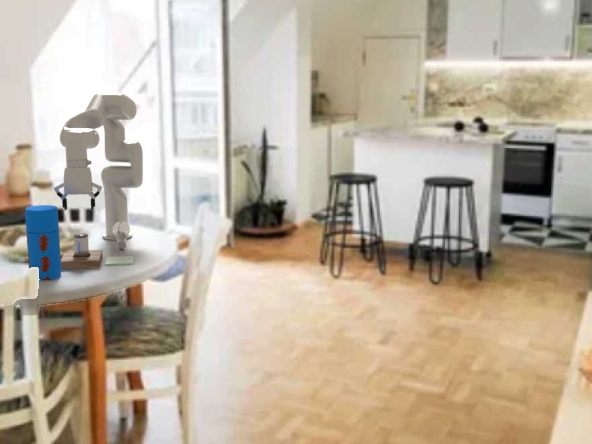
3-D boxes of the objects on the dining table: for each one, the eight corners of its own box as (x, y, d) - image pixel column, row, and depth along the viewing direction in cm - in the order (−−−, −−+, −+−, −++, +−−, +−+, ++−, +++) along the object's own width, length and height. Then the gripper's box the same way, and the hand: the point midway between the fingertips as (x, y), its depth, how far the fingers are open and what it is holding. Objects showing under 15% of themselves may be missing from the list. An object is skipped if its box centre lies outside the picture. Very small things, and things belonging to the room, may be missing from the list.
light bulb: (126, 252, 296) (125, 223, 293) (110, 251, 297) (109, 222, 295) (133, 248, 303) (132, 219, 300) (117, 247, 304) (116, 218, 301)
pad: (107, 258, 286) (107, 257, 285) (133, 257, 287) (133, 256, 287) (105, 265, 276) (105, 263, 276) (132, 264, 278) (132, 262, 278)
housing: (65, 258, 285) (65, 250, 285) (102, 257, 288) (102, 249, 287) (60, 269, 270) (60, 261, 269) (99, 267, 273) (99, 260, 272)
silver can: (75, 261, 281) (74, 233, 279) (89, 261, 282) (88, 233, 280) (74, 265, 276) (72, 236, 274) (88, 264, 277) (87, 236, 275)
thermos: (30, 282, 254) (25, 211, 249) (28, 274, 263) (23, 206, 258) (63, 278, 258) (59, 209, 253) (59, 271, 268) (55, 204, 262)
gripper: (101, 162, 276) (103, 207, 280) (54, 163, 273) (56, 208, 276) (100, 164, 269) (102, 210, 272) (51, 165, 266) (53, 211, 269)
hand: (79, 209), depth 274 cm, fingers open, 9 cm apart
